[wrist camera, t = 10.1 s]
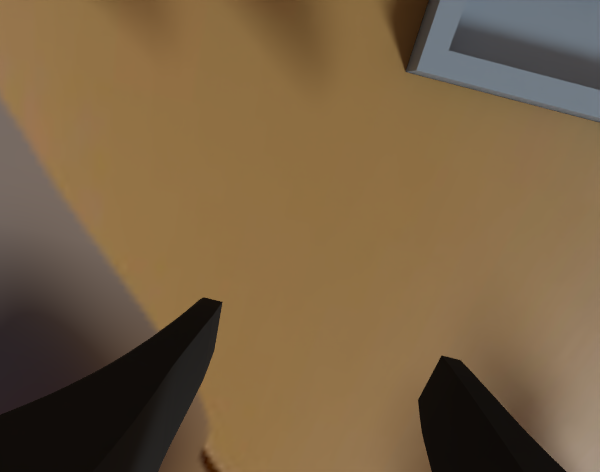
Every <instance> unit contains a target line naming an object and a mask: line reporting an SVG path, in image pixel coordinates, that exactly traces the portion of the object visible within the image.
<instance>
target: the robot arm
mask: <svg viewBox="0 0 600 472" xmlns="http://www.w3.org/2000/svg"><path fill="white" fill-rule="evenodd" d="M221 307H222V302H220V301H216V300H212V299H208V298H202V299H200V300H199V301H198V302H196V303H195V304H194V305H193V306H192V307H190V308H189V309H188V310H187V311H186V312H184V313H183V314H182V315H181V316H179V317H178V318H177V319H176V320H174V321H173V322H172V323H170V324H169V325H168V326H166V327H165V328H164V329H162V330H161V331H160V332H158V333H157V334H155V335H154V336H153V337H151V338H150V339H148V340H147V341H145V342H144V343H142V344H141V345H139V346H138V347H136V348H135V349H133V350H132V351H130V352H129V353H127V354H125V355H124V356H122V357H120V358H119V359H117V360H115V361H114V362H112V363H110V364H109V365H107V366H105V367H103V368H101V369H100V370H98V371H96V372H95V373H92V374H90V375H88V376H86V377H84V378H82V379H81V380H78V381H76V382H74V383H73V384H71V385H69V386H67V387H65V388H62V389H60V390H58V391H56V392H54V393H52V394H49V395H47V396H45V397H43V398H40V399H38V400H35V401H33V402H31V403H28V404H26V405H23V406H21V407H19V408H16V409H14V410H11V411H9V412H6V413H4V414H1V415H0V472H158V470H159V468H160V465H161V463H162V461H163V459H164V457H165V455H166V453H167V450H168V448H169V446H170V444H171V442H172V440H173V438H174V436H175V435H176V432H177V431H178V429H179V427H180V424H181V423H182V421H183V419H184V417H185V415H186V413H187V411H188V409H189V407H190V405H191V403H192V401H193V399H194V397H195V395H196V393H197V391H198V389H199V387H200V385H201V383H202V381H203V379H204V376H205V374H206V371H207V368H208V366H209V363H210V360H211V358H212V355H213V352H214V348H215V342H216V337H217V331H218V325H219V319H220V313H221ZM418 404H419V413H420V421H421V428H422V434H423V438H424V443H425V447H426V451H427V455H428V459H429V462H430V466H431V470H432V472H566V471H565V470H564V469H563V468H562V467H561V466H560V465H559V464H558V463H557V462H556V461H555V460H554V459H553V458H552V457H551V456H550V455H549V454H548V453H547V452H546V451H545V450H544V449H543V448H542V447H541V446H540V445H539V444H538V443H537V442H536V441H535V440H534V439H533V438H532V437H531V436H530V435H529V434H528V433H527V432H526V431H525V430H524V429H523V428H522V427H521V426H520V425H519V424H518V422H517V421H516V420H515V419H514V418H513V417H512V416H511V415H510V414H509V413H508V412H507V411H506V409H505V408H504V407H503V406H502V405H501V404H500V403H499V402H498V401H497V399H496V398H495V397H494V396H493V395H492V394H491V393H490V392H489V391H488V389H487V388H486V387H485V386H484V385H483V384H482V383H481V382H480V381H479V379H478V378H477V377H476V376H475V375H474V374H473V373H472V372H471V371H470V370H469V369H468V368H467V367H466V366H465V365H464V364H463V363H462V362H461V361H460V360H457V359H453V358H449V357H445V356H441V358H440V360H439V362H438V364H437V365H436V367H435V369H434V371H433V373H432V375H431V377H430V379H429V381H428V382H427V384H426V386H425V388H424V390H423V392H422V394H421V396H420V397H419V399H418Z"/></svg>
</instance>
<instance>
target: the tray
mask: <svg viewBox="0 0 600 472" xmlns="http://www.w3.org/2000/svg"><path fill="white" fill-rule="evenodd" d="M406 72H408V73H412V74H416V75H420V76H424V77H427V78H431V79H435V80H439V81H443V82H447V83H450V84H454V85H458V86H462V87H466V88H470V89H473V90H477V91H481V92H485V93H489V94H493V95H496V96H500V97H504V98H508V99H512V100H516V101H519V102H523V103H527V104H531V105H535V106H539V107H543V108H546V109H550V110H554V111H558V112H562V113H566V114H569V115H573V116H577V117H581V118H585V119H589V120H592V121H596V122H600V0H429V2H428V5H427V8H426V11H425V14H424V17H423V20H422V23H421V26H420V29H419V32H418V35H417V38H416V41H415V44H414V48H413V51H412V54H411V57H410V60H409V63H408V66H407V69H406Z"/></svg>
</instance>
